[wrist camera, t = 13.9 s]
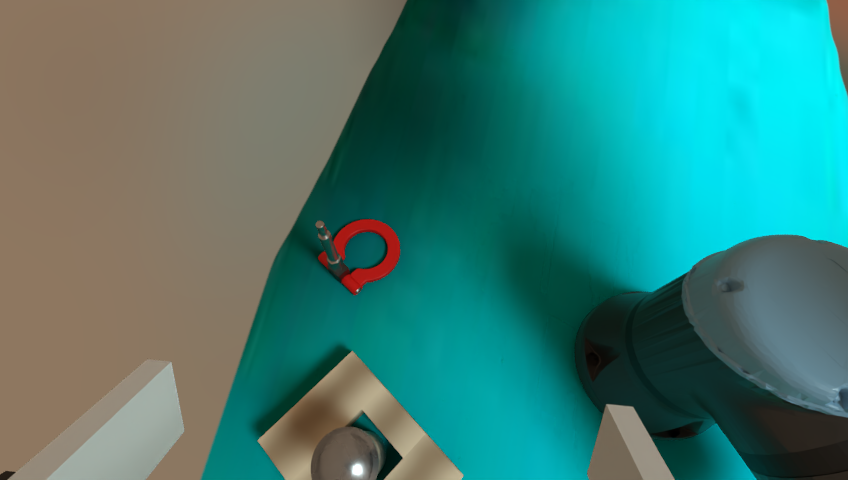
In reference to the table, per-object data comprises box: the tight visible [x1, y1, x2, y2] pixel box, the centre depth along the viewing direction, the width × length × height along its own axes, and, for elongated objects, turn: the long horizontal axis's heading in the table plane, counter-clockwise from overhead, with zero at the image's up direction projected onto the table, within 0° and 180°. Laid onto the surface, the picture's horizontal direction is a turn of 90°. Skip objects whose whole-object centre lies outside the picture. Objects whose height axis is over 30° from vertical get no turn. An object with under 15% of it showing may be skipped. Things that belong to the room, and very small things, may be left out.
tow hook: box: [316, 219, 400, 295], centre depth 45 cm, size 8×13×9 cm
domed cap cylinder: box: [311, 427, 386, 480], centre depth 36 cm, size 5×5×11 cm
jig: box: [257, 351, 463, 480], centre depth 39 cm, size 16×12×3 cm
